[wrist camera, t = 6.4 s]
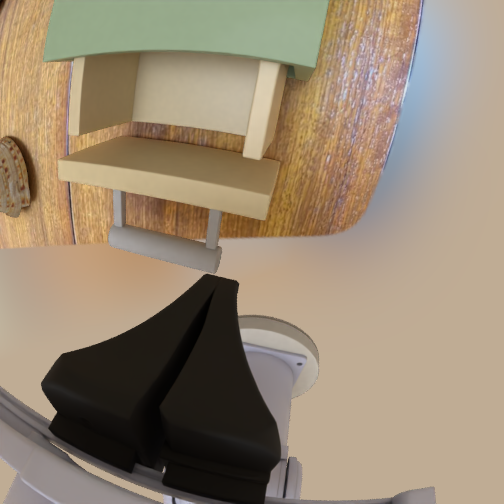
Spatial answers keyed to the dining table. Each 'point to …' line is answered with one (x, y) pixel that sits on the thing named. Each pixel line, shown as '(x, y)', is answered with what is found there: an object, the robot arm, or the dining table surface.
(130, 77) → the drawer
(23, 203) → the seashell
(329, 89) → the dining table surface
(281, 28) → the cabinet
